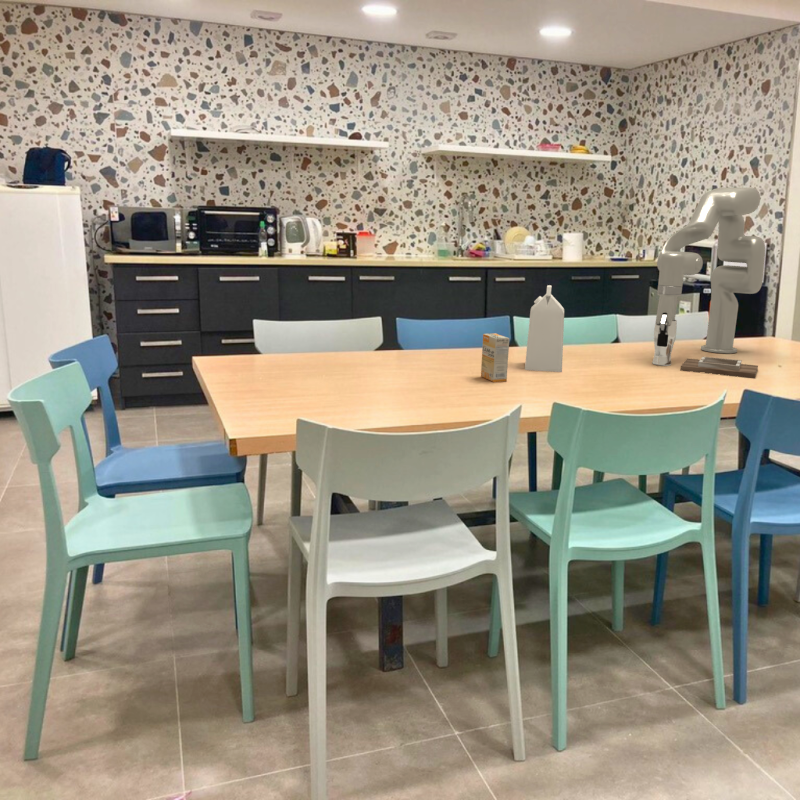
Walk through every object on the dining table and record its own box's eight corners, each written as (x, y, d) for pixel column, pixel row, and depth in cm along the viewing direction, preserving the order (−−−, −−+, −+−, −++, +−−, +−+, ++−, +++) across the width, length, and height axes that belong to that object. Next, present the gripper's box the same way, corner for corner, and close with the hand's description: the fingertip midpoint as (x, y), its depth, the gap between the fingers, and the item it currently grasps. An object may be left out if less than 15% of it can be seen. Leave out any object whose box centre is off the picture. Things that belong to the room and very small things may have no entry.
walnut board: (686, 362, 259) (687, 354, 258) (757, 370, 249) (758, 361, 248) (680, 370, 245) (681, 361, 244) (754, 378, 235) (756, 368, 235)
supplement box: (479, 376, 227) (482, 333, 224) (494, 376, 228) (496, 333, 225) (492, 382, 219) (495, 337, 216) (507, 381, 221) (510, 337, 218)
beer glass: (674, 366, 251) (679, 321, 248) (652, 365, 252) (656, 320, 249) (671, 362, 258) (675, 318, 254) (649, 361, 259) (654, 317, 255)
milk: (561, 372, 237) (568, 288, 231) (524, 369, 239) (530, 286, 233) (561, 365, 249) (567, 285, 243) (526, 363, 251) (531, 283, 245)
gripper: (662, 288, 258) (656, 340, 263) (653, 292, 243) (647, 347, 248) (685, 290, 255) (679, 342, 259) (677, 293, 240) (671, 349, 244)
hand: (663, 344), depth 253 cm, fingers closed on beer glass, 6 cm apart
